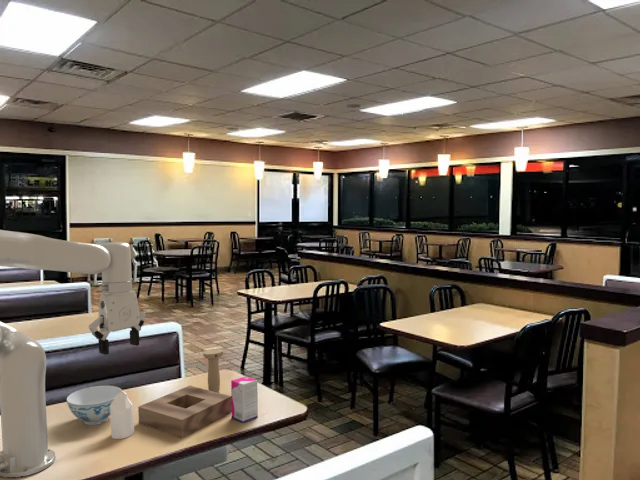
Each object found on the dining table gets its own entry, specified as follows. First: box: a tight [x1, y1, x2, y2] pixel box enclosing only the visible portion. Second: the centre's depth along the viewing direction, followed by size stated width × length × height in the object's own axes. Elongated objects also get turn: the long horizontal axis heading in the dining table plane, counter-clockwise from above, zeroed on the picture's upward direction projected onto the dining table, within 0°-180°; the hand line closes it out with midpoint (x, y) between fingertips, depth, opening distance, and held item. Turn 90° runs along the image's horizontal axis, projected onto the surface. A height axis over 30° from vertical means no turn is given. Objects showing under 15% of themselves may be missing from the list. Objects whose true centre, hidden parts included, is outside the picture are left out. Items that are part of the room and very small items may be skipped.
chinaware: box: [66, 385, 123, 426], centre depth 150 cm, size 15×15×8 cm
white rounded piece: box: [109, 390, 135, 440], centre depth 140 cm, size 6×12×6 cm
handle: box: [202, 348, 224, 393], centre depth 168 cm, size 5×6×15 cm
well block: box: [137, 385, 232, 439], centre depth 151 cm, size 20×18×5 cm
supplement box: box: [230, 375, 259, 424], centre depth 150 cm, size 6×6×12 cm
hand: (119, 349), depth 139 cm, fingers open, 9 cm apart
